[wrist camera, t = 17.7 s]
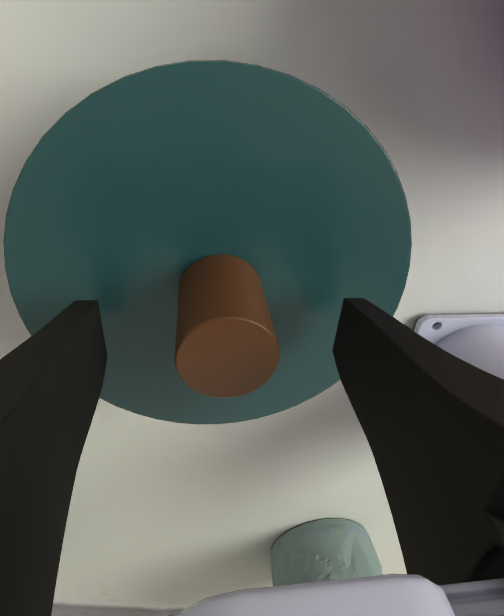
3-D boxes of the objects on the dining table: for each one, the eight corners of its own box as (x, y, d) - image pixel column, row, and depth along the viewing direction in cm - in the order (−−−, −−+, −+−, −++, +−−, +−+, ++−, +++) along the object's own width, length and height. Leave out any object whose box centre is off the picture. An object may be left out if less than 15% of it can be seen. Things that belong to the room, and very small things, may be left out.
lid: (447, 74, 11) (576, 89, 7) (357, 397, 18) (400, 491, 14) (-43, 41, 9) (-197, 40, 6) (61, 411, 16) (21, 522, 12)
